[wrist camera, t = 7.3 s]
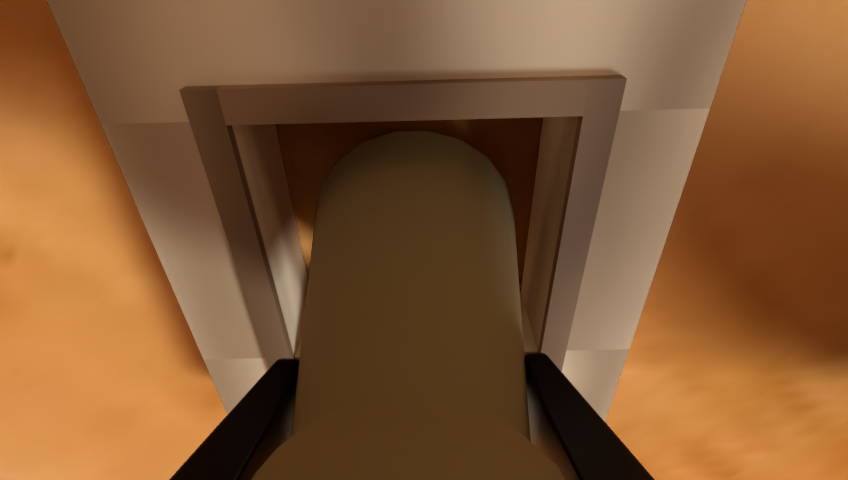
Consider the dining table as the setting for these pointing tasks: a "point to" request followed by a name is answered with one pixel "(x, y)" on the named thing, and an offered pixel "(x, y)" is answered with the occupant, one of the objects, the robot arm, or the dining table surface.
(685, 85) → the socket board
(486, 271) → the olive tall rounded piece
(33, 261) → the dining table surface
